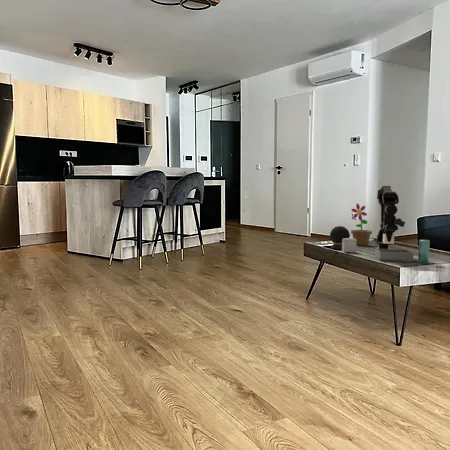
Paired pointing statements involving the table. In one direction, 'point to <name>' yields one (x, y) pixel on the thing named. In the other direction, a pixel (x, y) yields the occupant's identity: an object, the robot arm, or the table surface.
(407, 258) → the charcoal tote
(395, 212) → the robot arm
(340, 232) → the black round ball shape
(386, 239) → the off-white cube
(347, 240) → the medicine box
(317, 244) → the table surface
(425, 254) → the teal tin
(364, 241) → the flowerpot
